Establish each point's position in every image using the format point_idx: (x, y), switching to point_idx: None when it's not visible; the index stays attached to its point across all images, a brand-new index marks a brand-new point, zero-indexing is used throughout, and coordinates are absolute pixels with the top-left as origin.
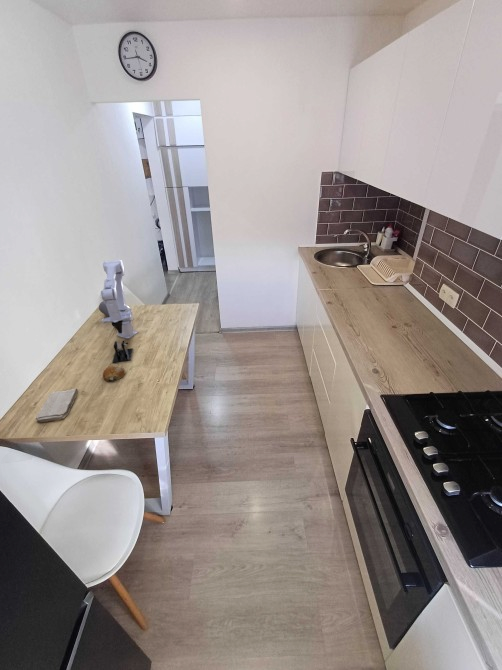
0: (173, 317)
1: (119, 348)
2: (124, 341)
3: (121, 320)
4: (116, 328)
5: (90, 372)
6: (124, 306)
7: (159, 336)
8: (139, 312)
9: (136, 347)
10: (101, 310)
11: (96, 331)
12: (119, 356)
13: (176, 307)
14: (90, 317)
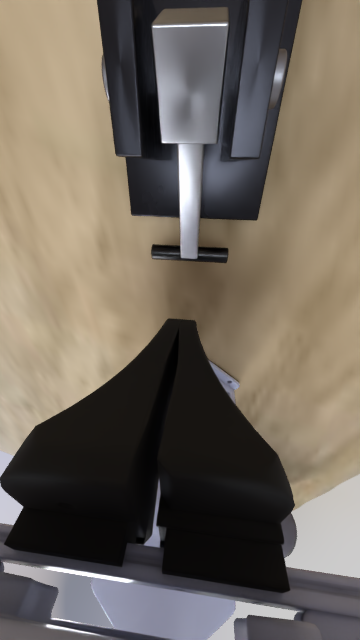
0: (26, 416)
1: (200, 9)
2: (112, 120)
3: (18, 543)
4: (204, 372)
5: None
6: (124, 621)
7: (20, 313)
8: None
9: (119, 239)
10: (289, 520)
11: (324, 433)
12: (228, 76)
13: None
14: (323, 493)
